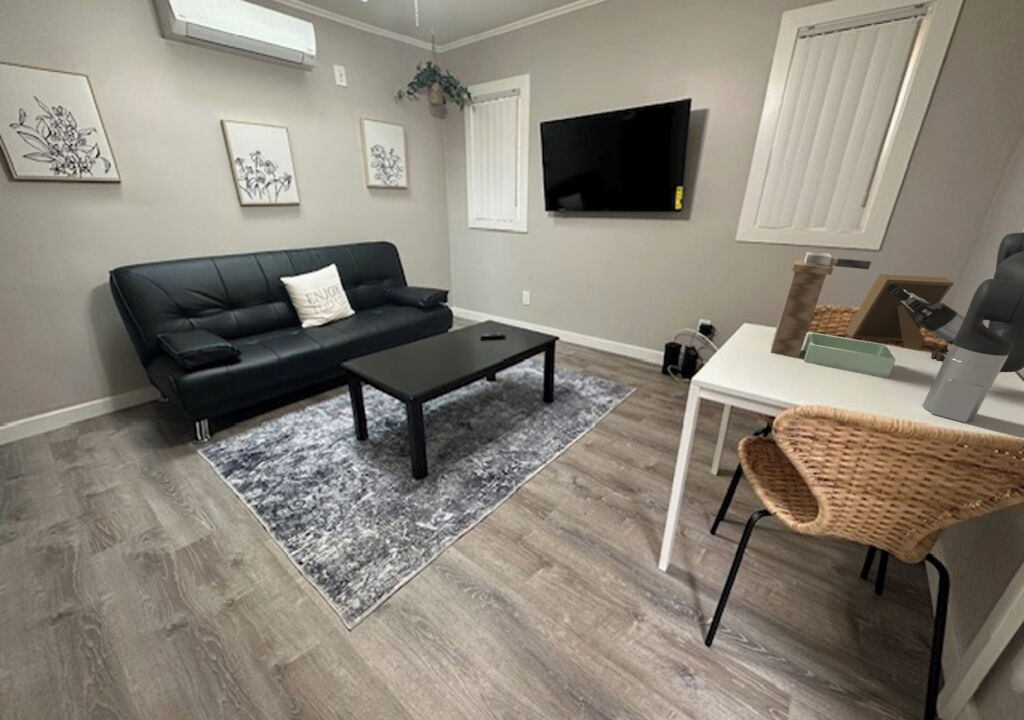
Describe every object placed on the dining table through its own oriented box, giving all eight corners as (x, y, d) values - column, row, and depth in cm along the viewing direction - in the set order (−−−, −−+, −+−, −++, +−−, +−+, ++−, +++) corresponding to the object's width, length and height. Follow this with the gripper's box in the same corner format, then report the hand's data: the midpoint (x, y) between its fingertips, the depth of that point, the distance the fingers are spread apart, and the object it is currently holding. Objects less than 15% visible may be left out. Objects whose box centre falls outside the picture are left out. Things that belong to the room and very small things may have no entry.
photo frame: (844, 334, 160) (868, 271, 150) (902, 337, 158) (931, 274, 148) (871, 347, 147) (899, 279, 137) (935, 352, 145) (968, 283, 135)
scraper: (865, 266, 125) (868, 257, 124) (870, 271, 118) (874, 260, 116) (804, 261, 133) (806, 251, 132) (805, 264, 125) (808, 254, 124)
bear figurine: (913, 343, 144) (956, 341, 143) (909, 354, 146) (952, 352, 145) (963, 362, 127) (1012, 360, 126) (958, 375, 129) (1007, 373, 128)
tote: (878, 361, 133) (885, 344, 131) (887, 378, 121) (895, 359, 118) (802, 347, 143) (808, 331, 141) (804, 361, 131) (810, 344, 129)
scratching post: (801, 348, 143) (829, 262, 131) (802, 360, 132) (833, 268, 120) (768, 342, 148) (793, 259, 136) (767, 353, 137) (793, 264, 125)
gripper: (936, 338, 113) (883, 301, 117) (923, 325, 124) (875, 293, 128) (966, 318, 109) (909, 281, 112) (949, 307, 120) (898, 274, 123)
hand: (891, 287), depth 120 cm, fingers open, 8 cm apart
